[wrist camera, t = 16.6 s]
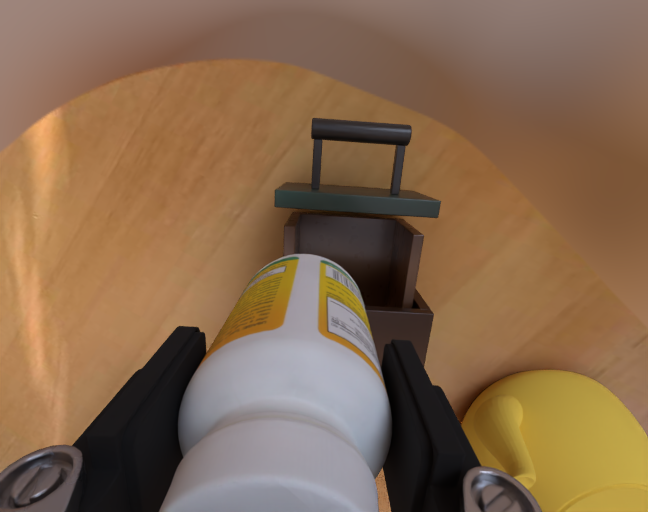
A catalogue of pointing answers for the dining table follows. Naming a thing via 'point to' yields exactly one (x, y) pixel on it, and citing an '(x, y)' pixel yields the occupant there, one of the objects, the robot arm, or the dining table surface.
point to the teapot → (562, 441)
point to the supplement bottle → (286, 401)
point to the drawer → (360, 218)
